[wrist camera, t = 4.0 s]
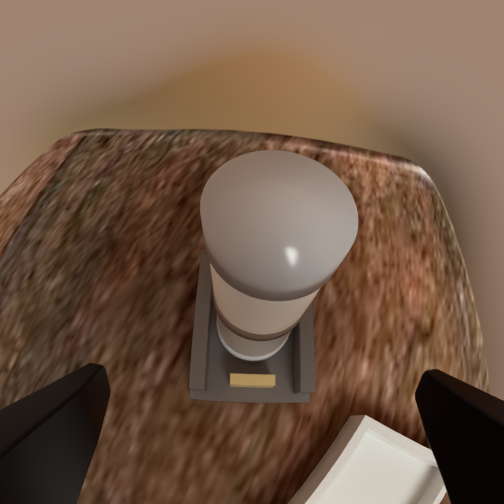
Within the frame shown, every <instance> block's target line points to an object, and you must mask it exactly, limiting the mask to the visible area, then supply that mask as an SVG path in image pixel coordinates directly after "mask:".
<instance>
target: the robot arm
mask: <svg viewBox="0 0 504 504" xmlns="http://www.w3.org/2000/svg"><path fill="white" fill-rule="evenodd" d="M109 398H110V385H109V381H108V377H107V373H106V369H105V367H104V366H103V365H99V364H94V363H89V364H87V365H85V366H83V367H81V368H79V369H78V370H76V371H74V372H72V373H70V374H68V375H66V376H64V377H62V378H61V379H59V380H57V381H55V382H53V383H51V384H49V385H47V386H45V387H43V388H42V389H40V390H38V391H36V392H34V393H32V394H30V395H28V396H26V397H24V398H22V399H20V400H18V401H16V402H14V403H12V404H10V405H8V406H6V407H5V408H3V409H1V410H0V504H76V503H77V500H78V497H79V494H80V491H81V488H82V485H83V482H84V479H85V476H86V473H87V471H88V468H89V465H90V462H91V459H92V457H93V454H94V451H95V449H96V446H97V443H98V440H99V436H100V433H101V429H102V425H103V421H104V417H105V413H106V409H107V405H108V401H109ZM415 400H416V403H417V406H418V409H419V413H420V416H421V420H422V423H423V426H424V430H425V433H426V437H427V440H428V442H429V445H430V447H431V450H432V453H433V455H434V458H435V460H436V463H437V466H438V468H439V471H440V474H441V477H442V479H443V482H444V485H445V488H446V491H447V494H448V497H449V500H450V503H451V504H504V401H503V400H501V399H498V398H497V397H494V396H492V395H490V394H488V393H486V392H484V391H482V390H480V389H478V388H475V387H473V386H471V385H469V384H467V383H465V382H463V381H461V380H459V379H457V378H455V377H453V376H451V375H448V374H446V373H444V372H442V371H440V370H438V369H432V370H427V371H425V372H424V373H423V375H422V377H421V380H420V382H419V385H418V387H417V389H416V392H415Z"/></svg>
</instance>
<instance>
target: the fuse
mask: <svg viewBox="0 0 504 504" xmlns="http://www.w3.org/2000/svg"><path fill="white" fill-rule="evenodd" d="M200 215H201V223H202V230H203V238H204V245H205V250H206V253H207V256H208V259H209V261H210V267H211V275H212V283H213V287H212V290H213V299H214V305H215V309H216V312H217V322H216V323H217V331H218V337H219V340H220V343H221V344H222V346H223V348H224V349H225V350H226V351H227V353H229V354H230V355H231V356H232V357H234V358H236V359H238V360H240V361H243V362H248V363H257V362H262V361H265V360H268V359H269V358H271V357H273V356H274V355H275V354H276V353H277V352H278V351H279V350H280V349H281V348H282V346H283V345H284V344H285V342H286V340H287V339H288V336H289V334H290V332H291V331H292V329H293V328H294V327H295V326H296V325H297V324H298V323H299V321H300V320H301V318H302V317H303V315H304V314H305V312H306V310H307V308H308V306H309V304H310V303H311V302H312V300H313V299H314V297H315V296H316V294H317V293H318V291H319V289H320V288H321V287H322V286H324V285H325V284H326V283H327V282H328V281H329V280H330V278H331V277H332V275H333V274H334V273H335V271H336V270H337V268H338V267H339V265H340V264H341V262H342V260H343V259H344V257H345V256H346V254H347V253H348V251H349V250H350V248H351V246H352V244H353V242H354V240H355V238H356V234H357V230H358V213H357V208H356V204H355V202H354V199H353V197H352V195H351V193H350V191H349V190H348V188H347V187H346V185H345V184H344V183H343V182H342V180H341V179H340V178H339V177H338V176H337V175H336V174H334V173H333V172H332V171H331V170H330V169H328V168H327V167H325V166H324V165H322V164H321V163H319V162H317V161H315V160H313V159H311V158H308V157H306V156H303V155H300V154H296V153H292V152H287V151H278V150H263V151H255V152H250V153H247V154H243V155H240V156H238V157H236V158H233V159H231V160H230V161H228V162H226V163H225V164H223V165H222V166H221V167H219V168H218V169H217V170H216V171H215V172H214V173H213V174H212V176H211V177H210V178H209V180H208V181H207V183H206V185H205V187H204V189H203V192H202V195H201V201H200Z"/></svg>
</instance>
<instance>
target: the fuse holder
mask: <svg viewBox="0 0 504 504" xmlns="http://www.w3.org/2000/svg"><path fill="white" fill-rule="evenodd" d="M212 287H213V283H212V275H211V267H210V261H209V259H208V256H207V253H201V260H200V268H199V277H198V286H197V296H196V306H195V316H194V327H193V338H192V350H191V363H190V377H189V388H190V397H189V398H190V399H195V400H207V401H221V402H242V403H306V402H310V393H312V392H315V391H316V389H315V346H314V321H313V301H312V302H311V303H310V304H309V306H308V308H307V310H306V312H305V314H304V315H303V317H302V318H301V320H300V321H299V323H298V324H297V325H296V326H295V327H294V328H293V329H292V331H291V332H290V334H289V336H288V339H287V340H286V342H285V344H284V345H283V346H282V348H281V349H280V350H279V351H278V352H277V353H276V354H275V355H274V356H273V357H271V358H269V359H268V360H265V361H262V362H257V363H248V362H243V361H240V360H238V359H236V358H234V357H232V356H231V355H230V354H229V353H227V351H226V350H225V349H224V348H223V346H222V344H221V343H220V340H219V337H218V331H217V323H216V322H217V312H216V309H215V305H214V299H213V290H212Z"/></svg>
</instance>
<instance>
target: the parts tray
mask: <svg viewBox="0 0 504 504" xmlns="http://www.w3.org/2000/svg"><path fill="white" fill-rule="evenodd" d="M445 493H446V488H445V485H444V482H443V479H442V477H441V474H440V471H439V468H438V466H437V463H436V460H435V458H434V455H433V453H432V450H430V449H428V448H426V447H424V446H422V445H420V444H418V443H416V442H414V441H412V440H410V439H409V438H407V437H405V436H403V435H401V434H399V433H397V432H395V431H394V430H392V429H390V428H388V427H386V426H384V425H383V424H381V423H379V422H377V421H376V420H374V419H372V418H370V417H368V416H367V415H351V416H350V417H349V418H348V420H347V421H346V423H345V425H344V426H343V428H342V429H341V431H340V432H339V434H338V436H337V437H336V439H335V440H334V442H333V443H332V445H331V446H330V448H329V449H328V450H327V452H326V453H325V455H324V456H323V458H322V459H321V460H320V462H319V463H318V465H317V466H316V467H315V469H314V470H313V472H312V473H311V474H310V476H309V477H308V478H307V480H306V481H305V482H304V483H303V485H302V486H301V487H300V489H299V490H298V491H297V492H296V494H295V495H294V496H293V497H292V498H291V500H290V501H289V502H288V503H287V504H439V503H440V502H441V500H442V498H443V497H444V495H445Z"/></svg>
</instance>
